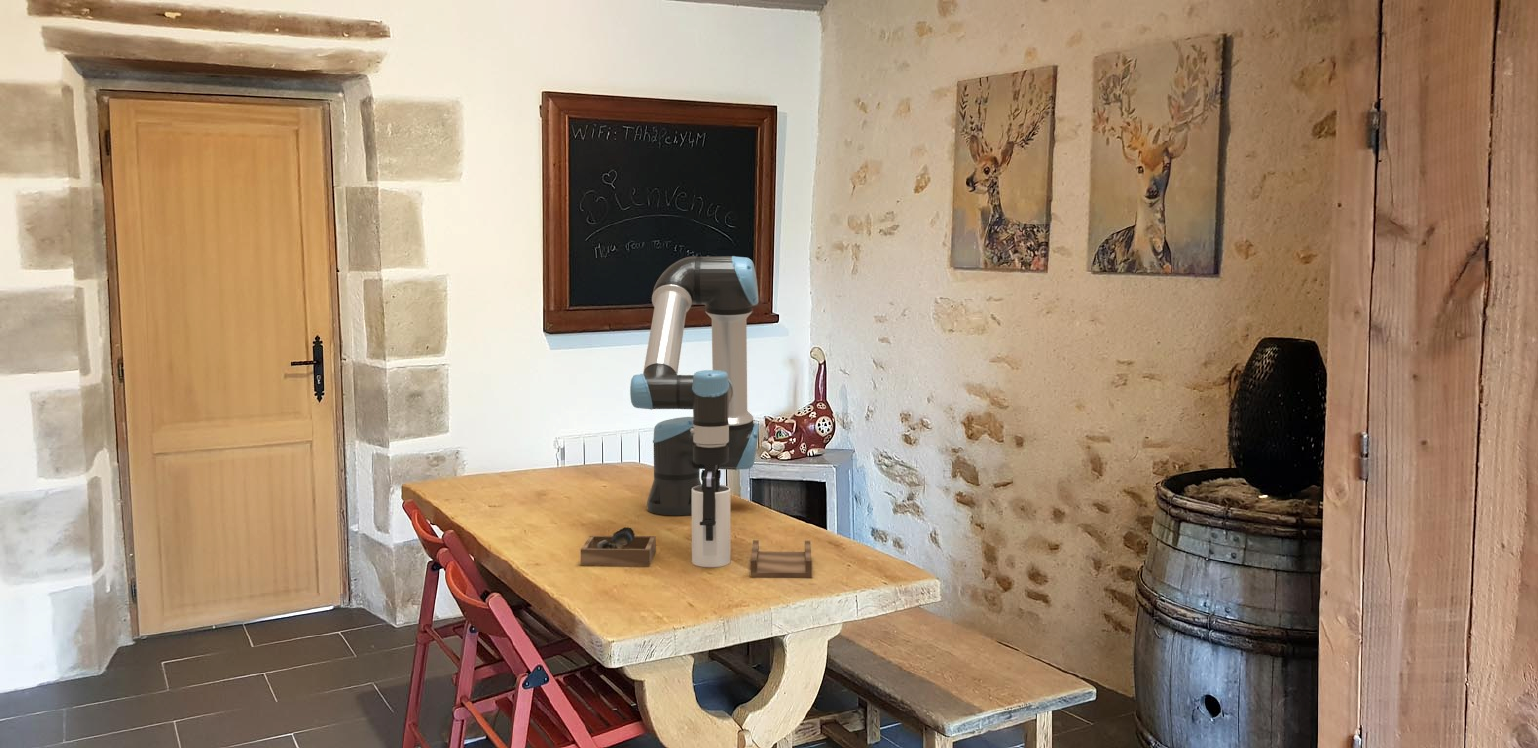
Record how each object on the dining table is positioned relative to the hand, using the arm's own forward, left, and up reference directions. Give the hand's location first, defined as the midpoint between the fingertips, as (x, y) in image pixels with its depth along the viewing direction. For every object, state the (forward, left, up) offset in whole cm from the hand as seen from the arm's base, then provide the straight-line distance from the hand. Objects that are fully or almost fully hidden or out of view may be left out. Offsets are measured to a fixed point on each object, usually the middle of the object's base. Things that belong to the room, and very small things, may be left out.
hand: (711, 549), depth 243 cm
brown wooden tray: (+3, +15, -3) cm, 16 cm away
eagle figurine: (-2, -20, -3) cm, 21 cm away
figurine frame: (-2, -20, -3) cm, 20 cm away
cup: (0, 0, -3) cm, 3 cm away
